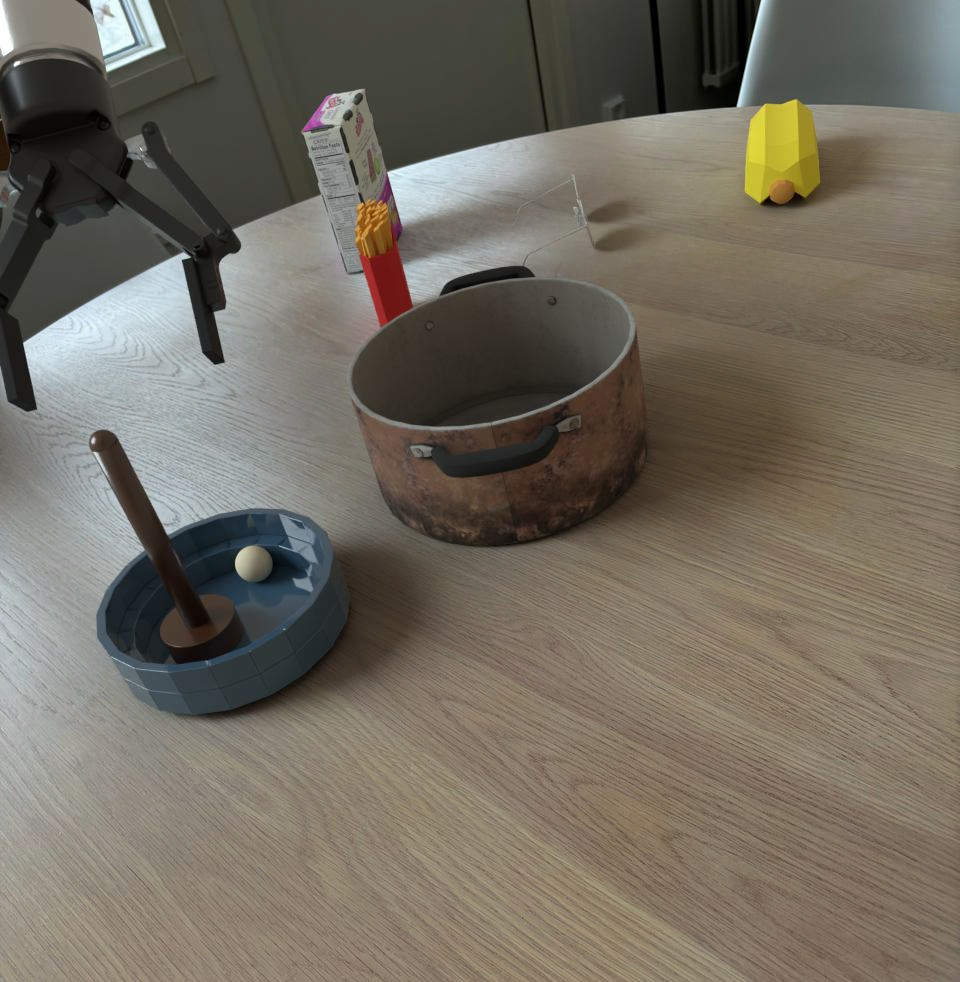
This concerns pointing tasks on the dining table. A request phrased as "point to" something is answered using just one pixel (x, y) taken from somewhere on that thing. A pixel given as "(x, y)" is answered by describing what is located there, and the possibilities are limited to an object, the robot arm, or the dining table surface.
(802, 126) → the yellow faceted bell
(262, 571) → the beige ball
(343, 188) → the candy bar box
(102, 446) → the brown plunger
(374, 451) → the cooking pot
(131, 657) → the bowl
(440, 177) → the dining table surface
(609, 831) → the dining table surface
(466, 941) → the dining table surface
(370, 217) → the french fries
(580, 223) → the eyeglasses frame
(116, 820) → the dining table surface
